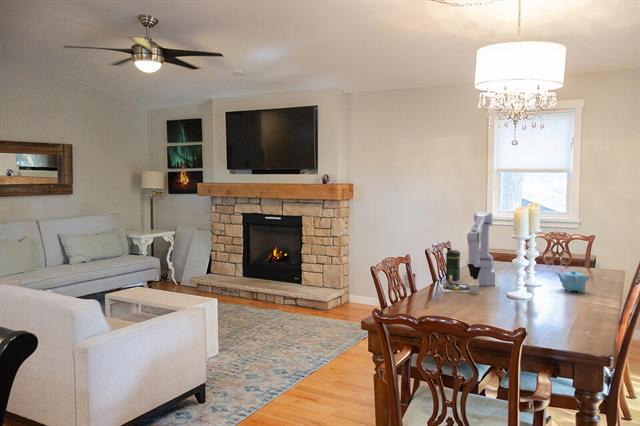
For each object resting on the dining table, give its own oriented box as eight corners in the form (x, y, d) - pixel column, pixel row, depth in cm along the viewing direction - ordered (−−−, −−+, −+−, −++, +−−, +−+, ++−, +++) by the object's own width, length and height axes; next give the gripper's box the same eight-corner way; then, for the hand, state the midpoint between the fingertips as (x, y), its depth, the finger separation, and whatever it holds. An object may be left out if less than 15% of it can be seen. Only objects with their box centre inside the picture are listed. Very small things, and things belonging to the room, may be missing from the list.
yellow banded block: (477, 292, 288) (477, 283, 288) (479, 294, 285) (479, 284, 285) (468, 292, 288) (468, 283, 288) (469, 294, 285) (469, 284, 285)
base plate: (471, 285, 308) (471, 284, 308) (477, 292, 289) (477, 291, 289) (438, 285, 310) (438, 284, 310) (442, 292, 291) (442, 291, 291)
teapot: (593, 294, 280) (594, 273, 279) (558, 293, 283) (558, 273, 283) (585, 288, 295) (585, 268, 294) (551, 287, 299) (551, 268, 298)
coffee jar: (456, 281, 322) (456, 251, 321) (444, 280, 326) (444, 251, 325) (461, 278, 330) (461, 249, 329) (449, 277, 334) (449, 249, 333)
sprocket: (452, 283, 311) (452, 273, 311) (478, 287, 298) (478, 276, 298) (436, 287, 300) (436, 276, 300) (462, 291, 287) (462, 280, 287)
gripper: (464, 251, 293) (464, 275, 294) (469, 255, 279) (469, 280, 279) (477, 251, 292) (476, 275, 293) (482, 255, 278) (482, 280, 279)
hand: (473, 278), depth 286 cm, fingers open, 7 cm apart
